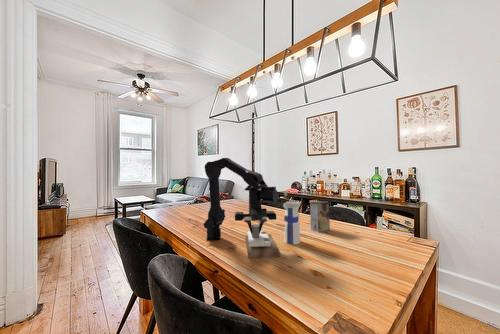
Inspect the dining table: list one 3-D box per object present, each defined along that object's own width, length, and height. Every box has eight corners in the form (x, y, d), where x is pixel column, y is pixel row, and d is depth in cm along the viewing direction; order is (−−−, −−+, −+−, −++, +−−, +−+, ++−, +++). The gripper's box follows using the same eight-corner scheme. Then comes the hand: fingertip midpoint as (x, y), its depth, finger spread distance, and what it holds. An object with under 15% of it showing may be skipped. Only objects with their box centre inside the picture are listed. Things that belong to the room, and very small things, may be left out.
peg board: (248, 257, 88) (247, 244, 87) (245, 239, 109) (245, 228, 109) (279, 256, 88) (279, 243, 88) (270, 238, 110) (270, 227, 110)
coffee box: (321, 227, 128) (321, 200, 128) (330, 230, 123) (329, 202, 123) (310, 229, 124) (309, 201, 124) (318, 232, 118) (318, 203, 118)
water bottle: (280, 243, 103) (280, 191, 103) (286, 237, 111) (286, 189, 110) (297, 246, 99) (297, 192, 99) (302, 240, 107) (302, 190, 107)
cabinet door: (249, 246, 91) (249, 231, 90) (247, 234, 106) (247, 221, 106) (270, 245, 91) (270, 230, 91) (265, 233, 107) (265, 220, 107)
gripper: (234, 204, 90) (235, 241, 90) (278, 203, 91) (278, 239, 91) (234, 199, 101) (235, 232, 101) (274, 199, 102) (274, 231, 102)
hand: (255, 234), depth 99 cm, fingers closed on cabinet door, 3 cm apart
